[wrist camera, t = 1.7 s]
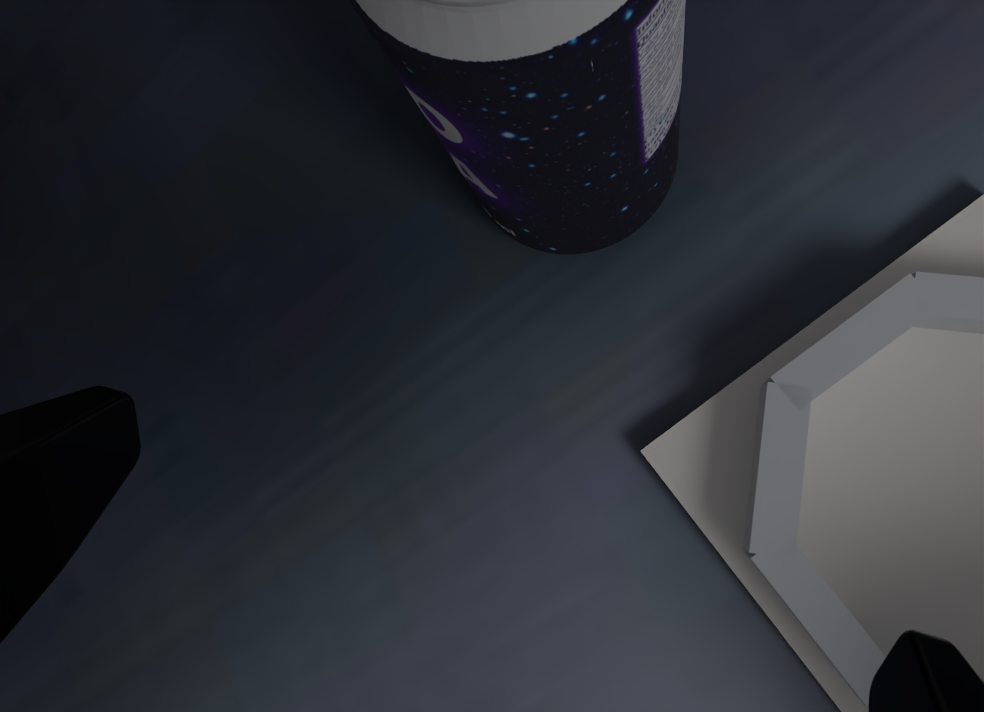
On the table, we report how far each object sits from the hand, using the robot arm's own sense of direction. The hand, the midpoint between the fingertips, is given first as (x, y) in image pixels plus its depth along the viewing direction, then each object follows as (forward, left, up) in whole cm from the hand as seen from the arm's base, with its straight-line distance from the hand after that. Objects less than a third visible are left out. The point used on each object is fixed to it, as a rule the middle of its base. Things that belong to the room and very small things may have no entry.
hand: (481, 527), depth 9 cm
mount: (+7, -5, -13) cm, 16 cm away
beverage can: (+5, +8, -13) cm, 16 cm away
